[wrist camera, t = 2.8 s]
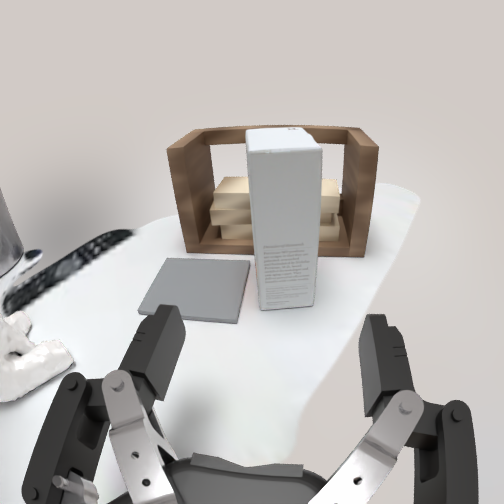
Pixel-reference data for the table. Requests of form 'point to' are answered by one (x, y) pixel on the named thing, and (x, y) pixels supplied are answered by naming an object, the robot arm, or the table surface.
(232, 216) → the offcut stack
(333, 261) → the table surface
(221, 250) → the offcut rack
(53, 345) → the sitting furry creature
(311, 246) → the skincare box
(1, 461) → the table surface
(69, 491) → the robot arm
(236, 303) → the grey mat
